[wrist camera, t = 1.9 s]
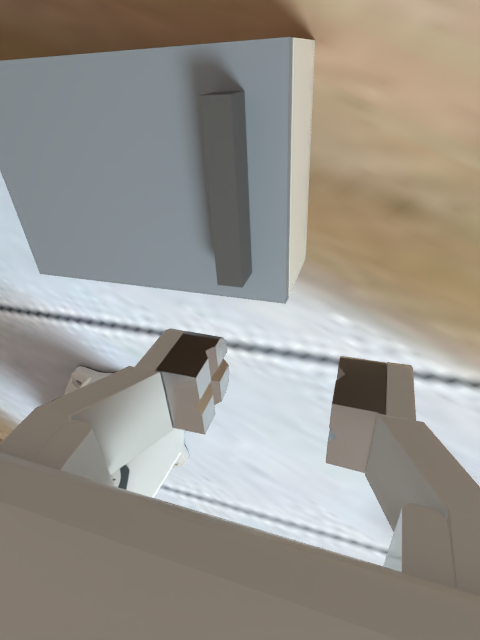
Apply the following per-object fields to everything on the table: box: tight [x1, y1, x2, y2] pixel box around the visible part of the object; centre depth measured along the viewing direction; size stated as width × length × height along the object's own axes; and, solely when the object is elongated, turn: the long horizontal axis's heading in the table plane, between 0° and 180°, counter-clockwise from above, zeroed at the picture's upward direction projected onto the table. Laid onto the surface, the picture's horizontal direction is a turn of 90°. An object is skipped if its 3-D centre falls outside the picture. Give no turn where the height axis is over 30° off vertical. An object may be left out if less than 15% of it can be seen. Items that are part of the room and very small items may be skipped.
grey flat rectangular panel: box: [0, 37, 293, 304], centre depth 24 cm, size 20×14×3 cm
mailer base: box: [289, 38, 315, 295], centre depth 27 cm, size 20×14×6 cm
